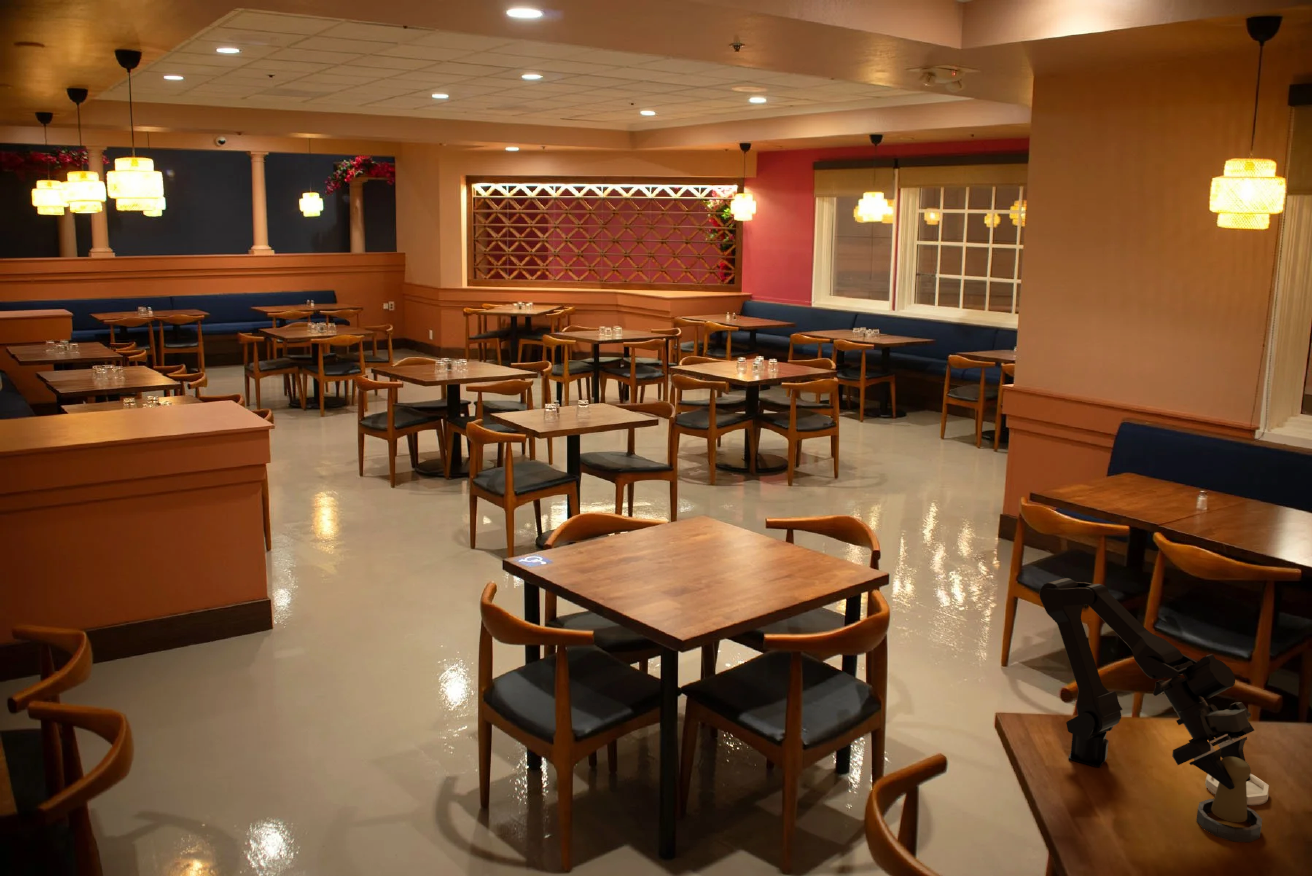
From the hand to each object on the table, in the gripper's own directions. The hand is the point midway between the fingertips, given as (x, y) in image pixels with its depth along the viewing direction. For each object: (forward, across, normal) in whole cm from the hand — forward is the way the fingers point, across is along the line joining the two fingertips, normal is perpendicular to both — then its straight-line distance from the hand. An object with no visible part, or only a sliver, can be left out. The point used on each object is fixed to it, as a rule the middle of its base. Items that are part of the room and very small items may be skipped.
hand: (1240, 784), depth 196 cm
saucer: (+1, +14, +12) cm, 19 cm away
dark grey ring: (+6, 0, +7) cm, 9 cm away
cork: (+4, 0, +6) cm, 7 cm away
